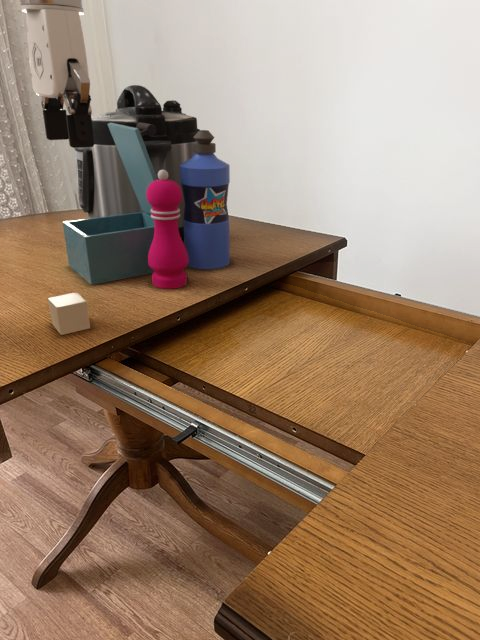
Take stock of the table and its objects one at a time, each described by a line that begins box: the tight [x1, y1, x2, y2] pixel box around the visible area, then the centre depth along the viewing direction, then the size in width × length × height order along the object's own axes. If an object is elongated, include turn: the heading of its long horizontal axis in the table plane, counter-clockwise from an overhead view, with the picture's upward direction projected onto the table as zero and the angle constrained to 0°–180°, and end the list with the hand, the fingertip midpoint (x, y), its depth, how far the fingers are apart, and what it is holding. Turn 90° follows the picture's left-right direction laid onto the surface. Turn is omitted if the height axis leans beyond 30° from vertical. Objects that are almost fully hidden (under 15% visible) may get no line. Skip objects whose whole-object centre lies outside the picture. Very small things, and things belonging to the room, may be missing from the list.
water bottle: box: [180, 129, 231, 270], centre depth 105 cm, size 9×9×25 cm
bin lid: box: [108, 122, 158, 214], centre depth 103 cm, size 17×13×5 cm
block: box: [47, 292, 91, 336], centre depth 81 cm, size 4×4×4 cm
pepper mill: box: [146, 170, 189, 290], centre depth 95 cm, size 7×7×20 cm
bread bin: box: [62, 212, 155, 286], centre depth 105 cm, size 17×13×9 cm
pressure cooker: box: [74, 84, 201, 239], centre depth 124 cm, size 30×28×32 cm
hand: (69, 143), depth 77 cm, fingers open, 9 cm apart
